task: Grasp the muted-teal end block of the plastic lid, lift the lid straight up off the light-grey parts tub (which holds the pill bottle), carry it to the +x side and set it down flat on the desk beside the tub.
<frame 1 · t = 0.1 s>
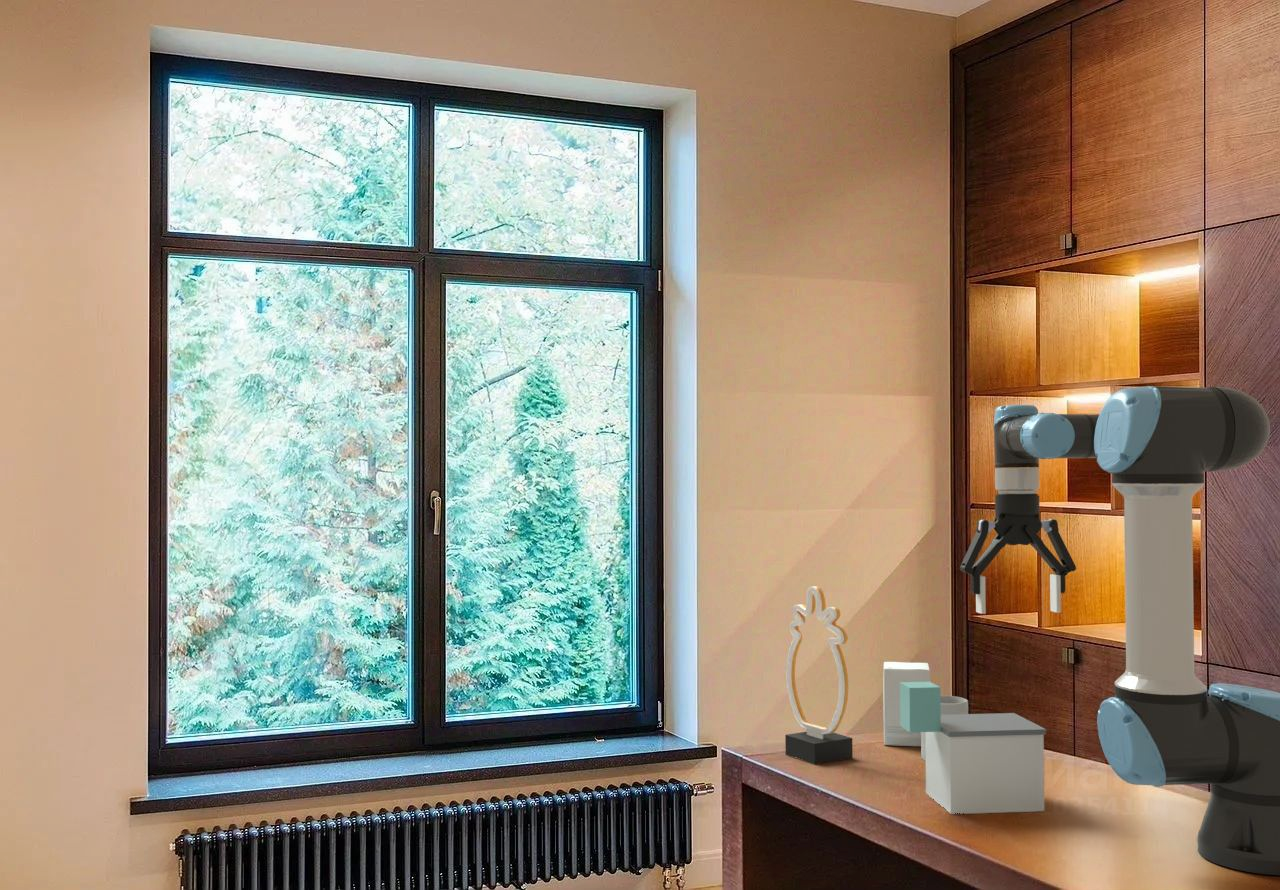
hand: (1018, 612, 215), 28 cm above the table, fingers open, 13 cm apart
lid: (982, 727, 195), point 12 cm above the table, touching tub
lamp: (818, 757, 226), on the table
mug: (939, 758, 225), on the table
tub: (983, 802, 195), on the table
pill bottle: (983, 803, 195), resting in tub
supplement box: (907, 742, 238), on the table
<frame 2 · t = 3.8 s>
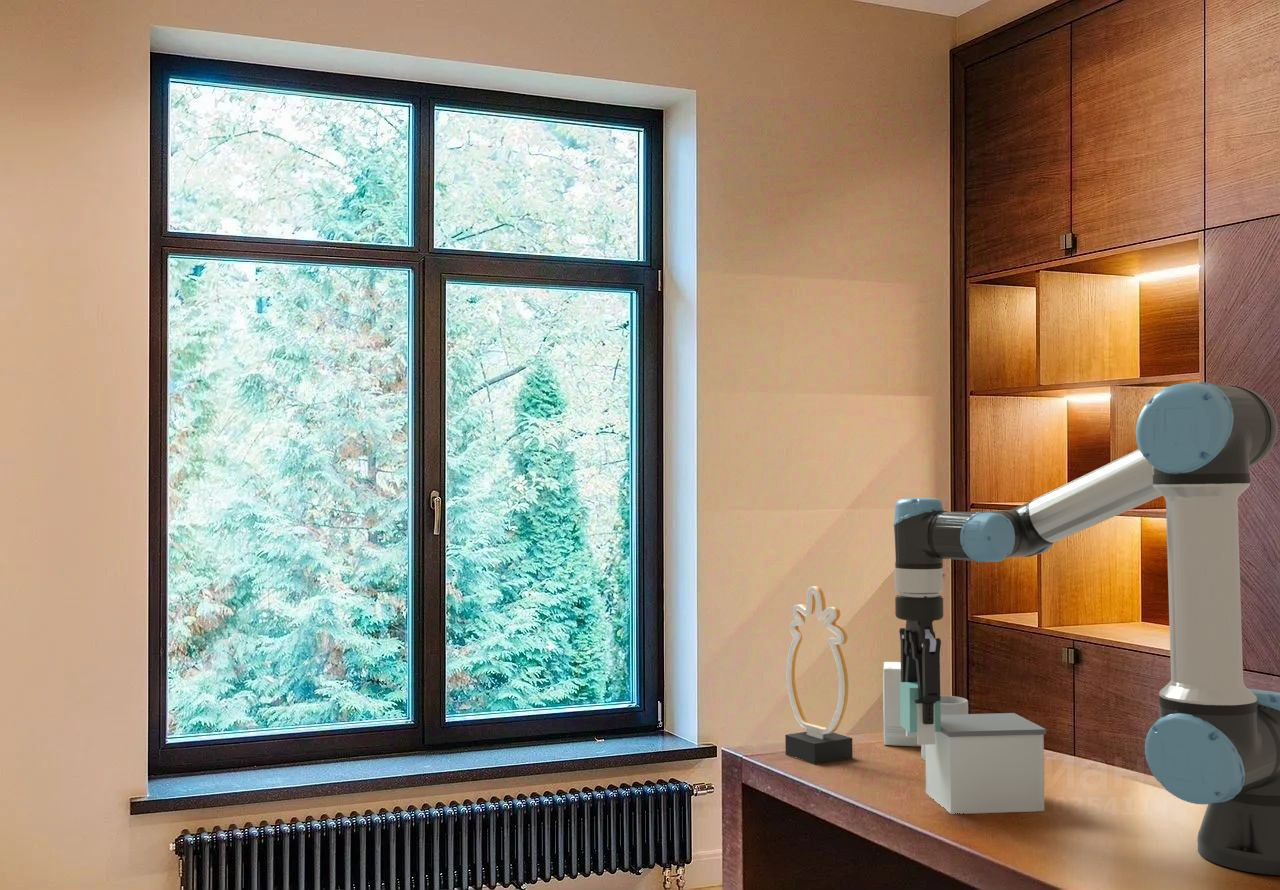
hand: (920, 739, 194), 10 cm above the table, fingers closed on lid, 5 cm apart
lid: (982, 727, 195), point 12 cm above the table, touching gripper, tub
everything else where it was.
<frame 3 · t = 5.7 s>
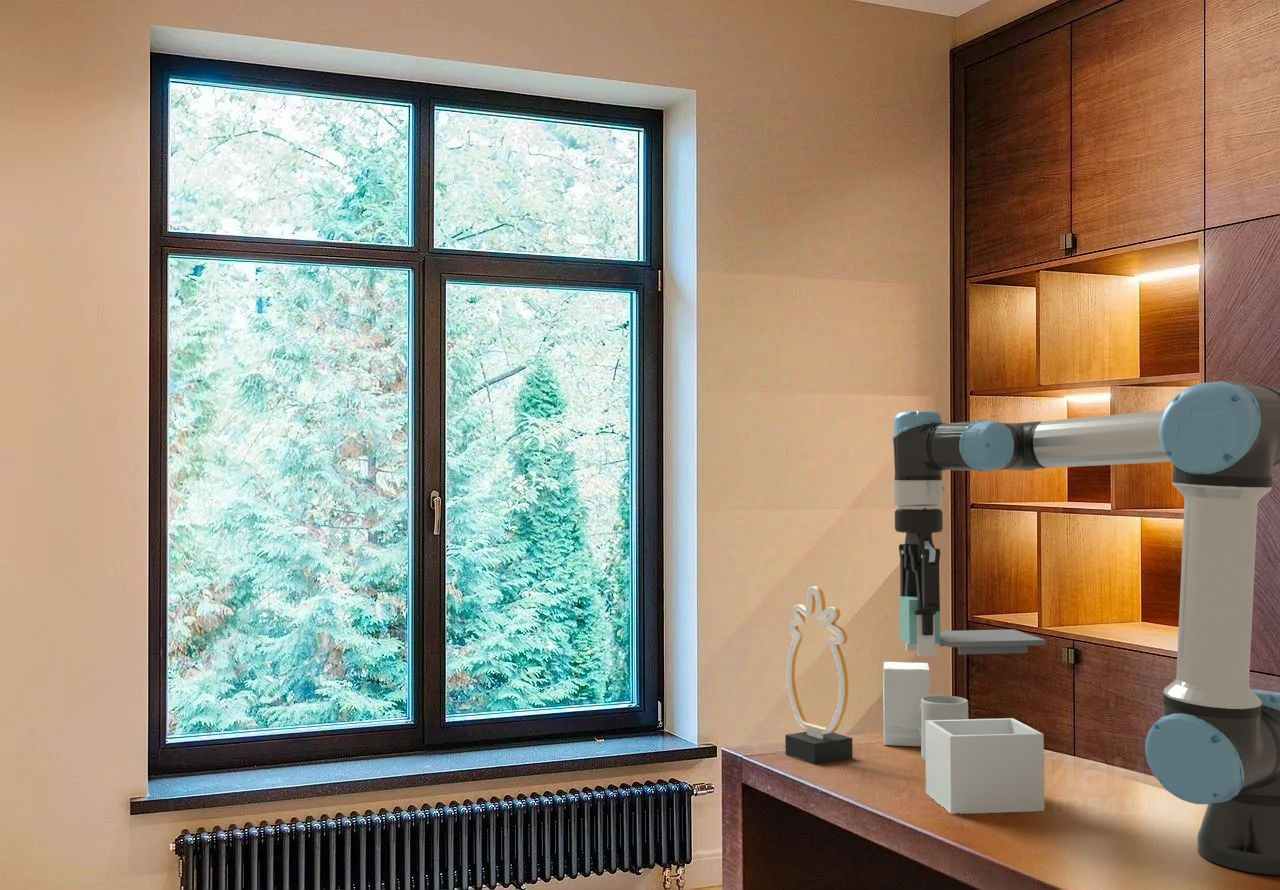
hand: (920, 652, 195), 24 cm above the table, fingers closed on lid, 5 cm apart
lid: (982, 640, 195), point 26 cm above the table, touching gripper
everything else where it was.
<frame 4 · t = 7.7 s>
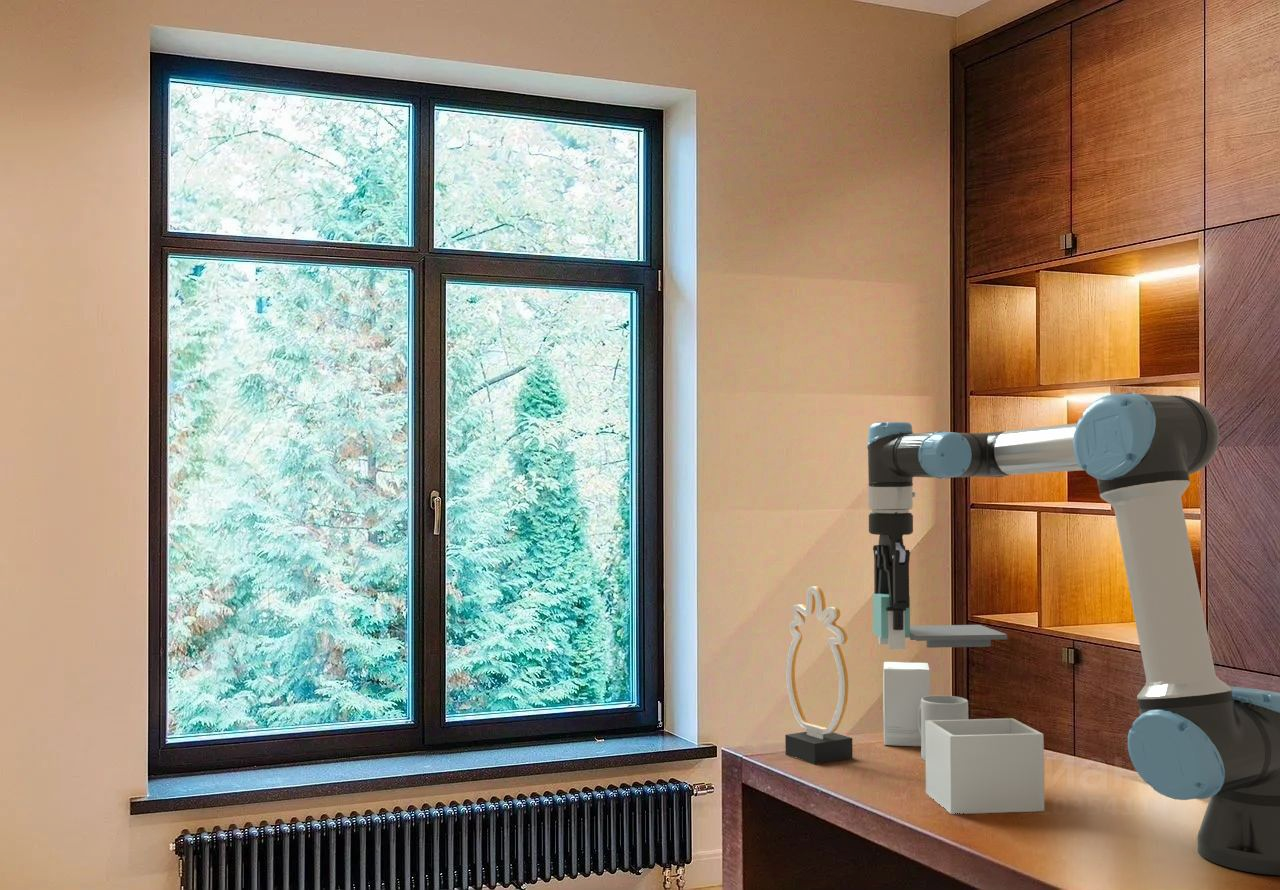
hand: (891, 646, 210), 23 cm above the table, fingers closed on lid, 5 cm apart
lid: (949, 634, 211), point 25 cm above the table, touching gripper
everything else where it was.
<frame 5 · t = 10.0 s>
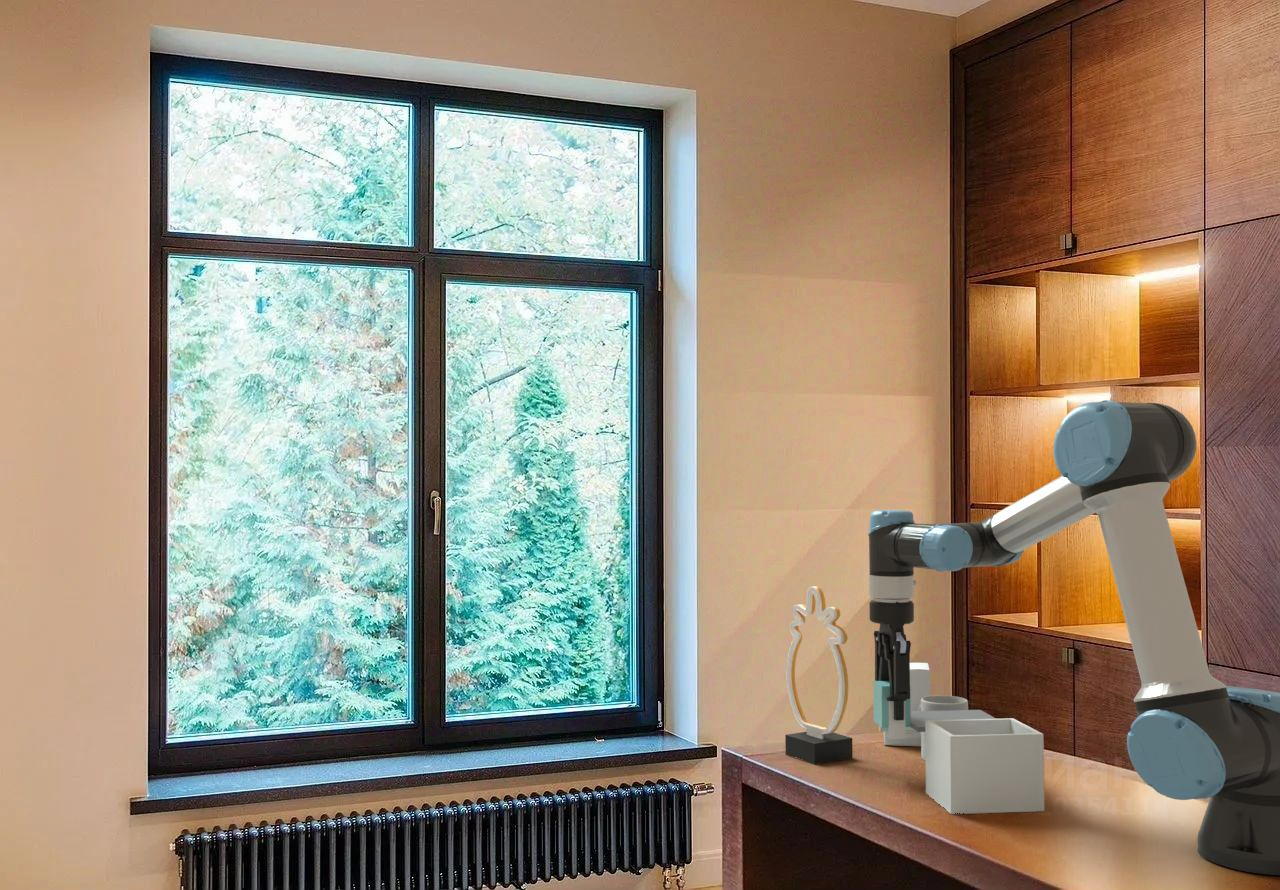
hand: (892, 734, 209), 8 cm above the table, fingers closed on lid, 5 cm apart
lid: (950, 722, 210), point 10 cm above the table, touching gripper
everything else where it was.
when the fingers open (1 cm above the table, at t = 11.7 s): lid drops 1 cm, point 2 cm above the table.
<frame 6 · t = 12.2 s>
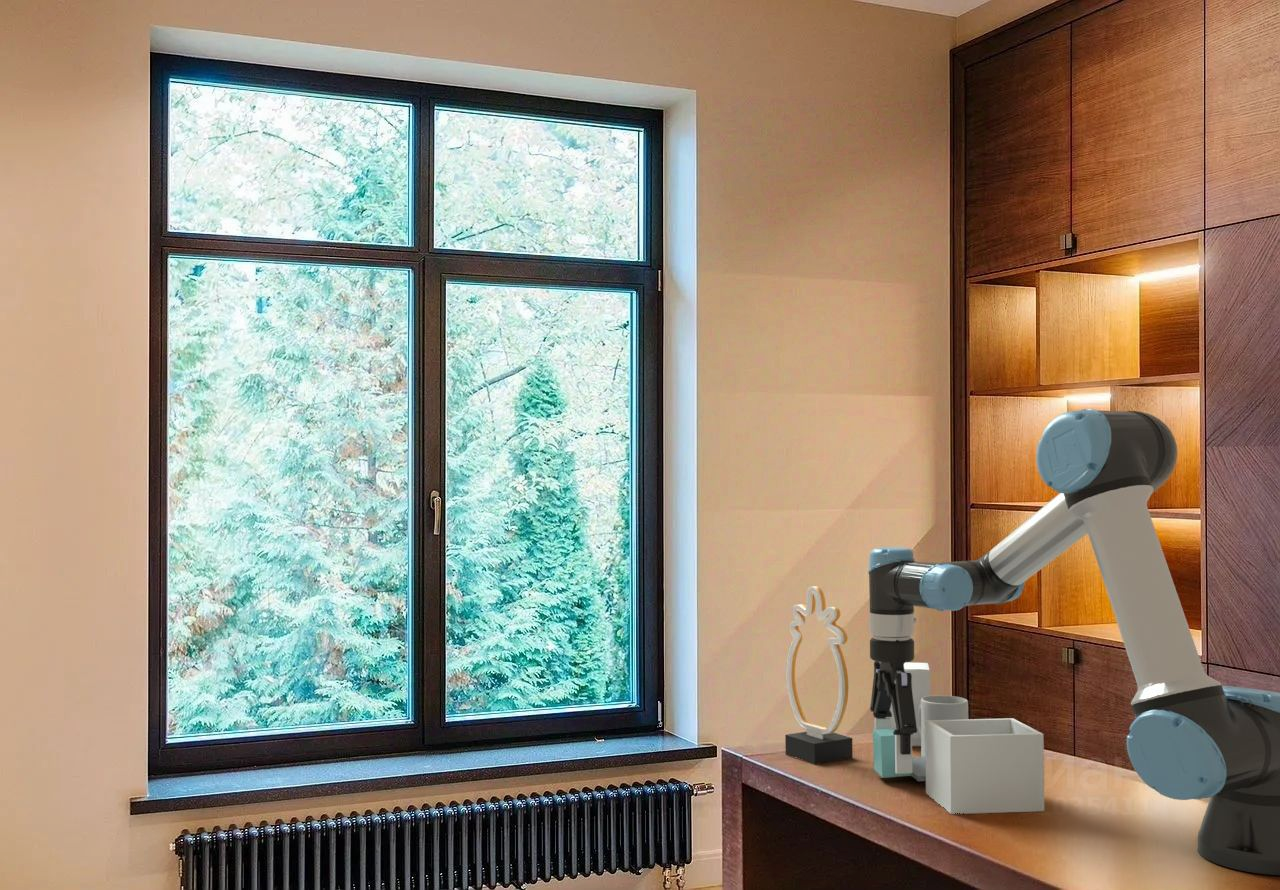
hand: (893, 764, 209), 3 cm above the table, fingers open, 11 cm apart
lid: (950, 768, 210), point 2 cm above the table
everything else where it was.
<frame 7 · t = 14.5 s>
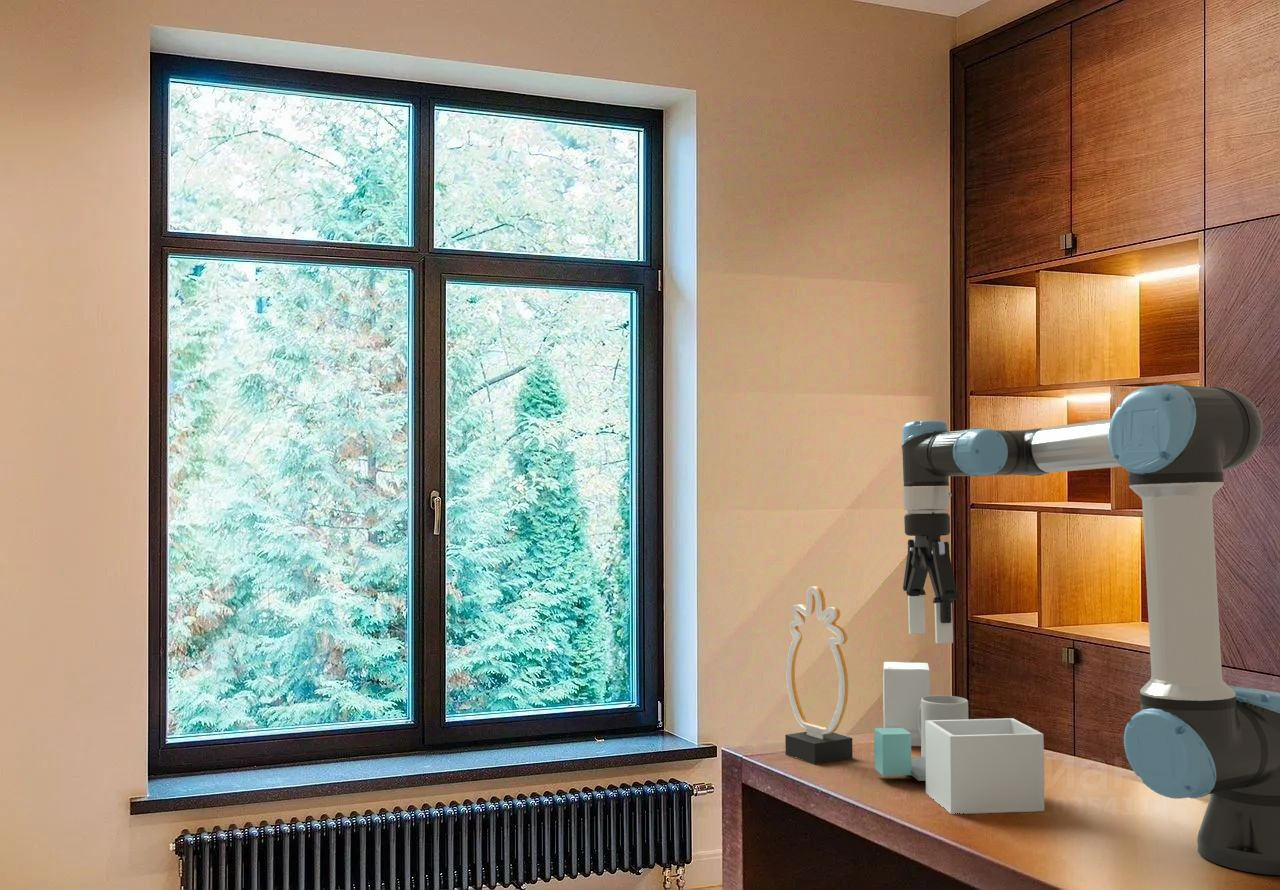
hand: (930, 638, 205), 25 cm above the table, fingers open, 13 cm apart
nothing on the table moved.
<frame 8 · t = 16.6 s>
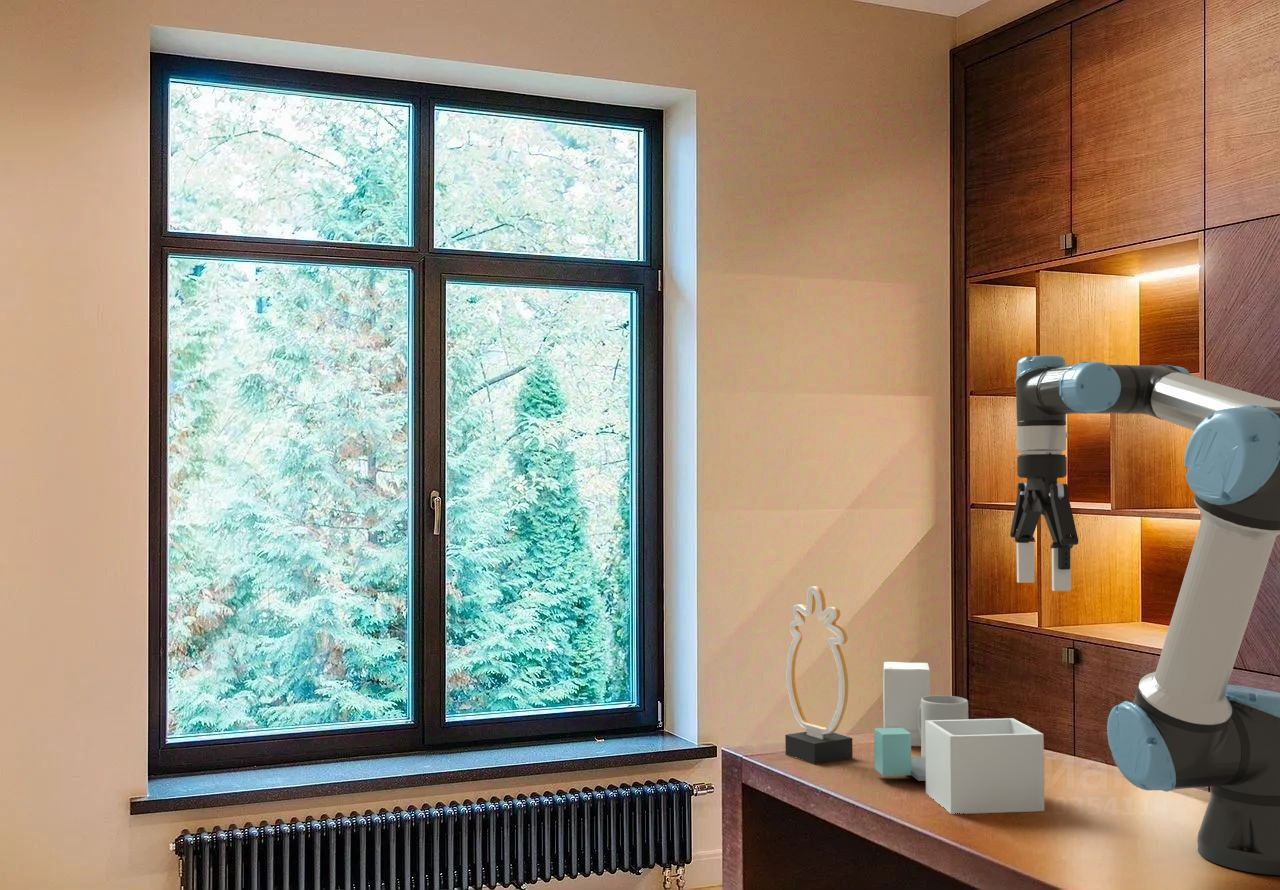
hand: (1043, 586, 194), 35 cm above the table, fingers open, 13 cm apart
nothing on the table moved.
at the end: lid inside the target area (0.5 cm from its centre), point 1.4 cm above the table; lid touching table; lid tilted 0° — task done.
